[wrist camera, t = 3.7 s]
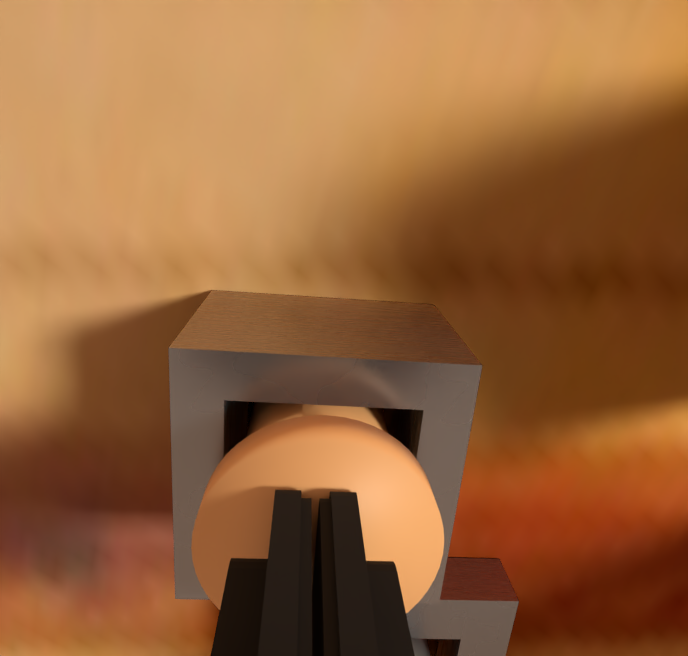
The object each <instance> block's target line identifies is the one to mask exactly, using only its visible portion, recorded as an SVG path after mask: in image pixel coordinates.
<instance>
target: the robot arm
mask: <svg viewBox="0 0 688 656" xmlns="http://www.w3.org/2000/svg"><path fill="white" fill-rule="evenodd" d="M211 656H415V655H414V650H413V645H412V640H411V635H410V631H409V626H408V621H407V616H406V611H405V606H404V602H403V597H402V592H401V587H400V582H399V578H398V573H397V569H396V565H395V563H394V562H393V561H366V556H365V549H364V542H363V534H362V527H361V520H360V512H359V505H358V498H357V493H356V492H334V491H330V494H329V499H324V498H320V499H319V509H318V521H317V534H316V546H315V559H314V571H313V583H312V499H311V498H301V490H275V496H274V505H273V515H272V524H271V534H270V543H269V553H268V559H253V558H231V560H230V563H229V567H228V572H227V577H226V582H225V587H224V592H223V597H222V602H221V607H220V612H219V617H218V622H217V627H216V633H215V638H214V643H213V648H212V653H211Z"/></svg>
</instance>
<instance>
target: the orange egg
mask: <svg viewBox="0 0 688 656" xmlns="http://www.w3.org/2000/svg"><path fill="white" fill-rule="evenodd" d="M275 490H301V498H311V499H312V583H313V571H314V559H315V546H316V534H317V521H318V509H319V499H320V498H324V499H329V494H330V491H334V492H356V493H357V498H358V505H359V512H360V520H361V527H362V534H363V542H364V549H365V556H366V561H393V562H394V563H395V565H396V569H397V573H398V578H399V582H400V587H401V592H402V597H403V602H404V606H405V611H406V613H408V612H409V611H410V610H411V609H412V608H413V607H414V606H415V605H416V604H417V603H418V602H419V601H420V600H421V599H422V597H423V596H424V595H425V594H426V592H427V591H428V589H429V588H430V586H431V584H432V583H433V581H434V579H435V577H436V575H437V572H438V570H439V568H440V564H441V560H442V556H443V549H444V528H443V523H442V519H441V515H440V512H439V509H438V506H437V503H436V500H435V498H434V495H433V492H432V489H431V486H430V484H429V481H428V479H427V476H426V474H425V472H424V470H423V468H422V467H421V465H420V463H419V462H418V460H417V459H416V458H415V457H414V455H413V454H412V453H411V452H410V451H409V450H408V449H407V448H406V447H405V446H404V445H403V444H402V443H401V442H400V441H398V440H397V439H395V438H394V437H393V436H391V435H390V434H388V430H387V427H386V423H385V419H384V415H383V412H382V408H371V407H351V406H330V405H310V404H289V403H269V402H255V403H254V407H253V411H252V416H251V420H250V424H249V428H248V432H247V437H246V438H245V439H243V440H242V441H241V442H239V443H238V444H237V445H236V446H235V447H234V448H232V449H231V450H230V451H229V452H228V453H227V454H226V455H225V457H224V458H223V459H222V460H221V461H220V463H219V464H218V465H217V467H216V469H215V470H214V472H213V474H212V475H211V477H210V480H209V482H208V484H207V487H206V489H205V492H204V495H203V499H202V502H201V505H200V508H199V511H198V514H197V517H196V520H195V524H194V529H193V533H192V545H191V550H192V560H193V565H194V568H195V572H196V575H197V577H198V580H199V582H200V584H201V587H202V588H203V590H204V591H205V593H206V594H207V596H208V598H209V599H210V600H211V601H212V602H213V604H214V605H215V606H216V607H217V608H218V609H219V610H220V607H221V602H222V597H223V592H224V587H225V582H226V577H227V572H228V567H229V563H230V560H231V558H253V559H268V553H269V543H270V534H271V524H272V515H273V505H274V496H275Z"/></svg>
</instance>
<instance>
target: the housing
mask: <svg viewBox="0 0 688 656" xmlns="http://www.w3.org/2000/svg"><path fill="white" fill-rule="evenodd" d="M481 370H482V364H481V363H480V362H479V361H478V359H477V358H476V357H475V356H474V354H473V353H472V352H471V351H470V349H469V348H468V347H467V346H466V344H465V343H464V342H463V341H462V339H461V338H460V337H459V336H458V334H457V333H456V332H455V331H454V329H453V328H452V327H451V326H450V324H449V323H448V322H447V321H446V319H445V318H444V317H443V316H442V314H441V313H440V312H439V311H438V309H437V308H436V307H435V306H434V305H430V304H415V303H400V302H384V301H369V300H354V299H339V298H323V297H308V296H293V295H278V294H263V293H247V292H232V291H217V290H212V291H211V292H210V293H209V295H208V296H207V297H206V299H205V300H204V301H203V303H202V304H201V305H200V307H199V308H198V309H197V311H196V312H195V313H194V315H193V316H192V317H191V319H190V320H189V321H188V323H187V324H186V325H185V327H184V328H183V329H182V331H181V332H180V333H179V334H178V336H177V337H176V338H175V340H174V341H173V342H172V344H171V345H170V346H169V384H170V422H171V459H172V496H173V534H174V571H175V599H207V600H210V599H209V598H208V596H207V594H206V593H205V591H204V590H203V588H202V587H201V584H200V582H199V580H198V577H197V575H196V572H195V568H194V565H193V560H192V550H191V545H192V533H193V529H194V524H195V520H196V517H197V514H198V511H199V508H200V505H201V502H202V499H203V495H204V492H205V489H206V487H207V484H208V482H209V480H210V477H211V475H212V474H213V472H214V470H215V469H216V467H217V465H218V464H219V463H220V461H221V460H222V459H223V458H224V457H225V455H226V454H227V453H228V452H229V451H230V450H231V449H232V448H234V447H235V446H236V445H237V444H238V443H239V442H241V441H242V440H243V439H245V438H246V437H247V424H248V401H249V402H269V403H289V404H310V405H330V406H351V407H371V408H384V413H383V415H384V419H385V423H386V427H387V430H388V434H390V435H391V436H393V437H394V438H395V439H397V440H398V441H400V442H401V443H402V444H403V445H404V446H405V447H406V448H407V449H408V450H409V451H410V452H411V453H412V454H413V455H414V457H415V458H416V459H417V460H418V462H419V463H420V465H421V467H422V468H423V470H424V472H425V474H426V476H427V479H428V481H429V484H430V486H431V489H432V492H433V495H434V498H435V500H436V503H437V506H438V509H439V512H440V515H441V519H442V523H443V528H444V549H443V556H442V560H441V564H440V568H439V570H438V572H437V575H436V577H435V579H434V581H433V583H432V584H431V586H430V588H429V589H428V591H427V592H426V594H425V595H424V596H423V597H422V599H421V600H420V601H419V602H418V603H424V604H439V601H440V596H441V590H442V585H443V579H444V574H445V568H446V563H447V557H448V552H449V546H450V541H451V535H452V530H453V524H454V519H455V513H456V508H457V502H458V497H459V491H460V486H461V480H462V475H463V469H464V464H465V458H466V453H467V447H468V442H469V436H470V431H471V425H472V420H473V414H474V409H475V403H476V398H477V392H478V387H479V381H480V376H481Z"/></svg>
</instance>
